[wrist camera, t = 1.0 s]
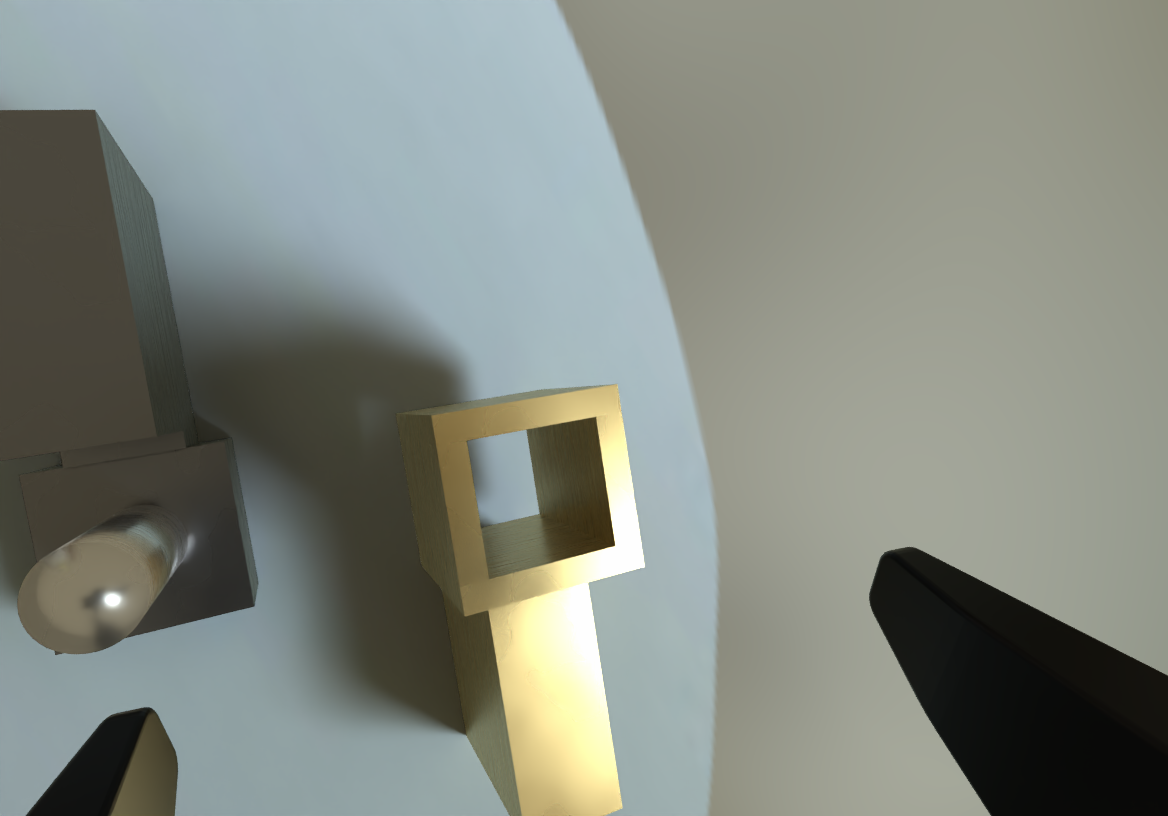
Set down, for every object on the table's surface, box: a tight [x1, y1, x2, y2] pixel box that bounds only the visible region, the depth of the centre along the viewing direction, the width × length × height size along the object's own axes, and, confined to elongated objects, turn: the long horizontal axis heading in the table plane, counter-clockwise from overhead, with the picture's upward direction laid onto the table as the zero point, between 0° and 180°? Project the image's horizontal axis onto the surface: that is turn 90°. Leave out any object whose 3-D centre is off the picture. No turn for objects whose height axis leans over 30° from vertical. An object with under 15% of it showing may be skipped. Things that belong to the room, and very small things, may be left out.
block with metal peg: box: [0, 110, 258, 655], centre depth 15 cm, size 10×4×8 cm, turn 10°
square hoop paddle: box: [396, 384, 644, 816], centre depth 18 cm, size 10×4×8 cm, turn 10°
